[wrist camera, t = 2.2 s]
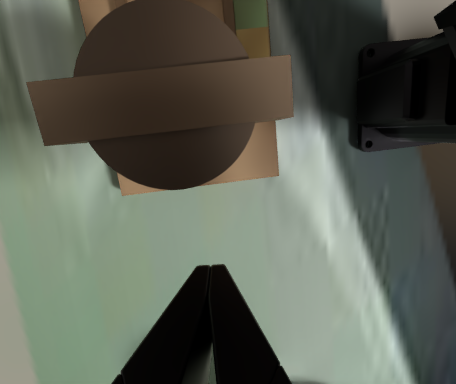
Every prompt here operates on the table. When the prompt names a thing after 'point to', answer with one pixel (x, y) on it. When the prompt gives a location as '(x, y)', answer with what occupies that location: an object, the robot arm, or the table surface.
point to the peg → (163, 94)
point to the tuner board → (256, 48)
